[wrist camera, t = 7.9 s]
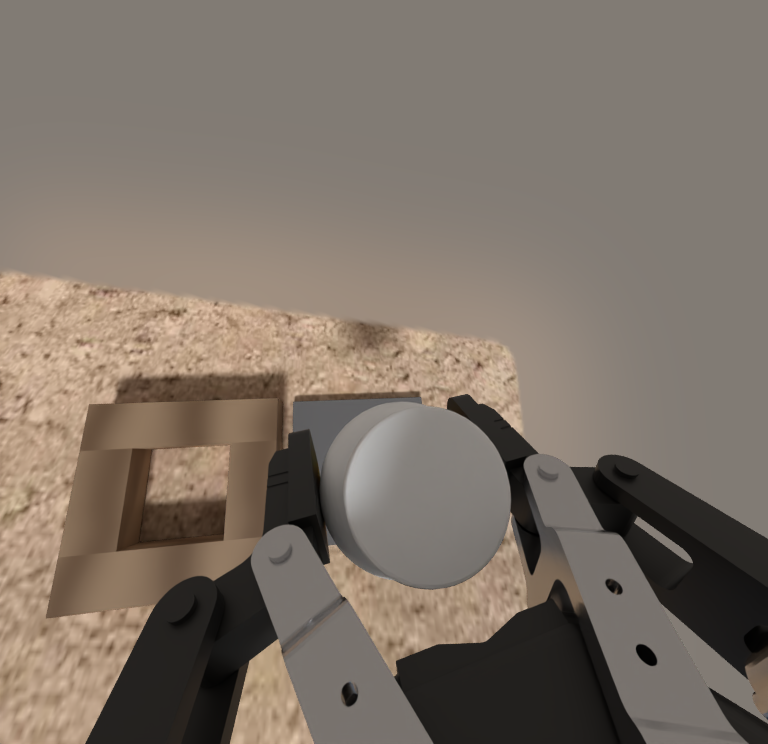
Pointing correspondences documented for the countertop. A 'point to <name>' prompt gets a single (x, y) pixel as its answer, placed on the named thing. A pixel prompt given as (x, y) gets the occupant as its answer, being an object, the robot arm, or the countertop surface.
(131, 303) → the countertop surface
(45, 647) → the countertop surface
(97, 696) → the countertop surface
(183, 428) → the walnut socket
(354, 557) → the supplement bottle
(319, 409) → the rubber mat
